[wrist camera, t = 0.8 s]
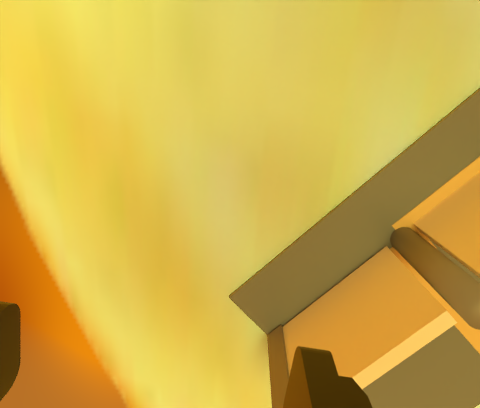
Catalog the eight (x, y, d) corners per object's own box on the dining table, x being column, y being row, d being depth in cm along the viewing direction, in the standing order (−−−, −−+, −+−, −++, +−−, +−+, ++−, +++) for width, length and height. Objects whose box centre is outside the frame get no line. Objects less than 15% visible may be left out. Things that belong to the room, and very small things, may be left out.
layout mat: (483, 84, 33) (487, 84, 33) (640, 296, 38) (645, 298, 37) (229, 295, 39) (229, 297, 38) (392, 456, 44) (393, 460, 43)
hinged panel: (384, 243, 36) (450, 314, 24) (396, 256, 37) (466, 332, 25) (267, 335, 39) (274, 438, 27) (278, 346, 40) (290, 453, 28)
